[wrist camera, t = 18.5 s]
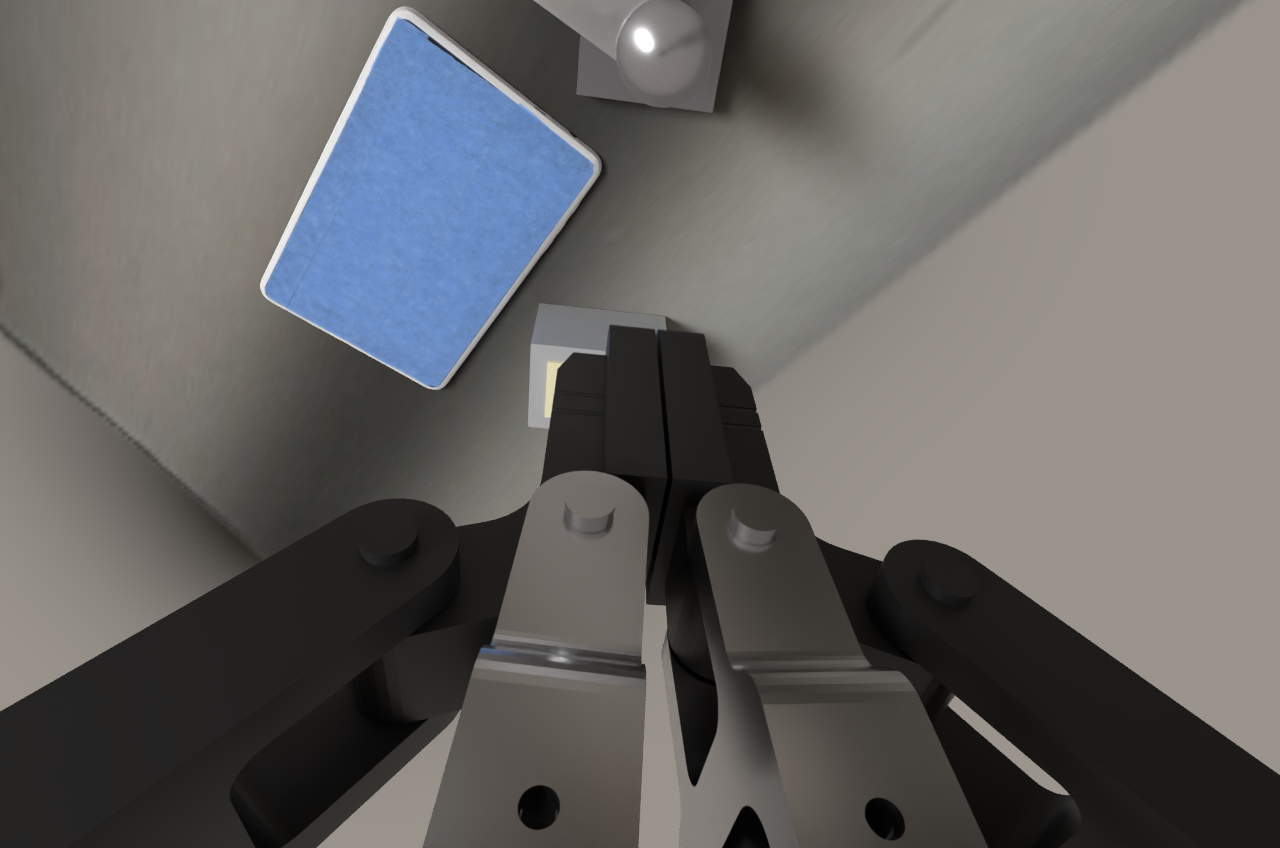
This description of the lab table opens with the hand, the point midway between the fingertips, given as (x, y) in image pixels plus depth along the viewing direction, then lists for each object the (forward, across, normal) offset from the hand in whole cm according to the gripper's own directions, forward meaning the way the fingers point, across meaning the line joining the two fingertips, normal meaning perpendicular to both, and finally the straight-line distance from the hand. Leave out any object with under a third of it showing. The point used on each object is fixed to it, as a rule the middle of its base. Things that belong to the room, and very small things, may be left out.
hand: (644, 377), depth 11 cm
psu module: (+29, 0, +17) cm, 34 cm away
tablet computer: (+30, +11, +10) cm, 33 cm away
